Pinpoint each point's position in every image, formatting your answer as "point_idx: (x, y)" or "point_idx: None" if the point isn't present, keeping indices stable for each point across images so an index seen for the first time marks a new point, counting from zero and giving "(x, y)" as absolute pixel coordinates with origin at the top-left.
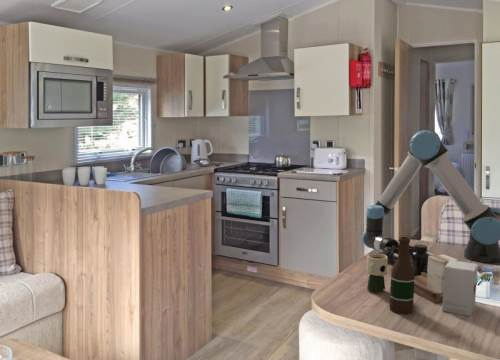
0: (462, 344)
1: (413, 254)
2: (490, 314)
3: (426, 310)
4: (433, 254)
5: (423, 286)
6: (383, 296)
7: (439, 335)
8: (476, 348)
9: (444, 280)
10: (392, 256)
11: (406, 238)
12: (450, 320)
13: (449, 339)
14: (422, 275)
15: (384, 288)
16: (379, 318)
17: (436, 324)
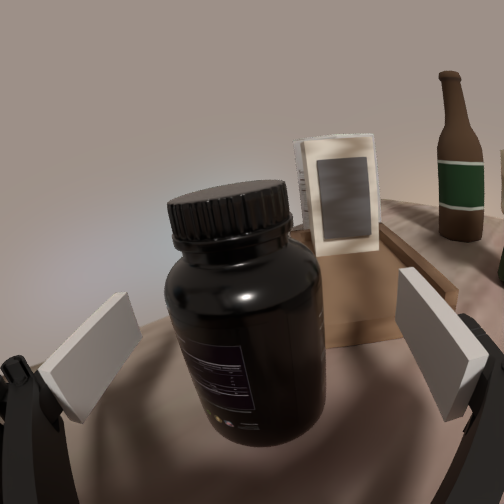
0: (398, 203)
1: (314, 257)
2: (298, 227)
3: (412, 233)
4: (112, 296)
5: (377, 260)
6: (498, 264)
7: (418, 208)
8: (386, 201)
9: (376, 164)
10: (494, 348)
11: (445, 73)
12: (383, 220)
13: (408, 206)
14: None
15: (500, 276)
16: (495, 224)
17: (411, 216)
